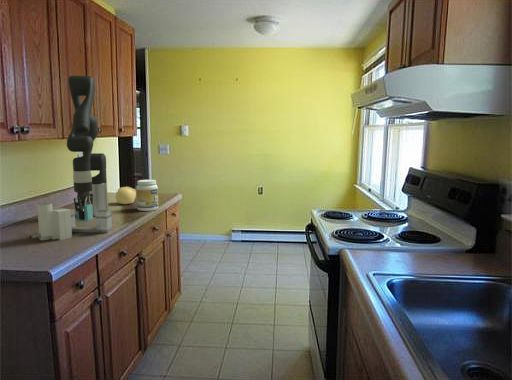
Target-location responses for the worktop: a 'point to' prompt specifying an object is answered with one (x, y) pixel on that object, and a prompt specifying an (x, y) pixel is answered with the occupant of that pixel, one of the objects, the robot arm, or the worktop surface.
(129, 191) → the pale yellow ball
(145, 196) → the supplement tub
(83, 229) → the rail
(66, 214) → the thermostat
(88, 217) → the block
